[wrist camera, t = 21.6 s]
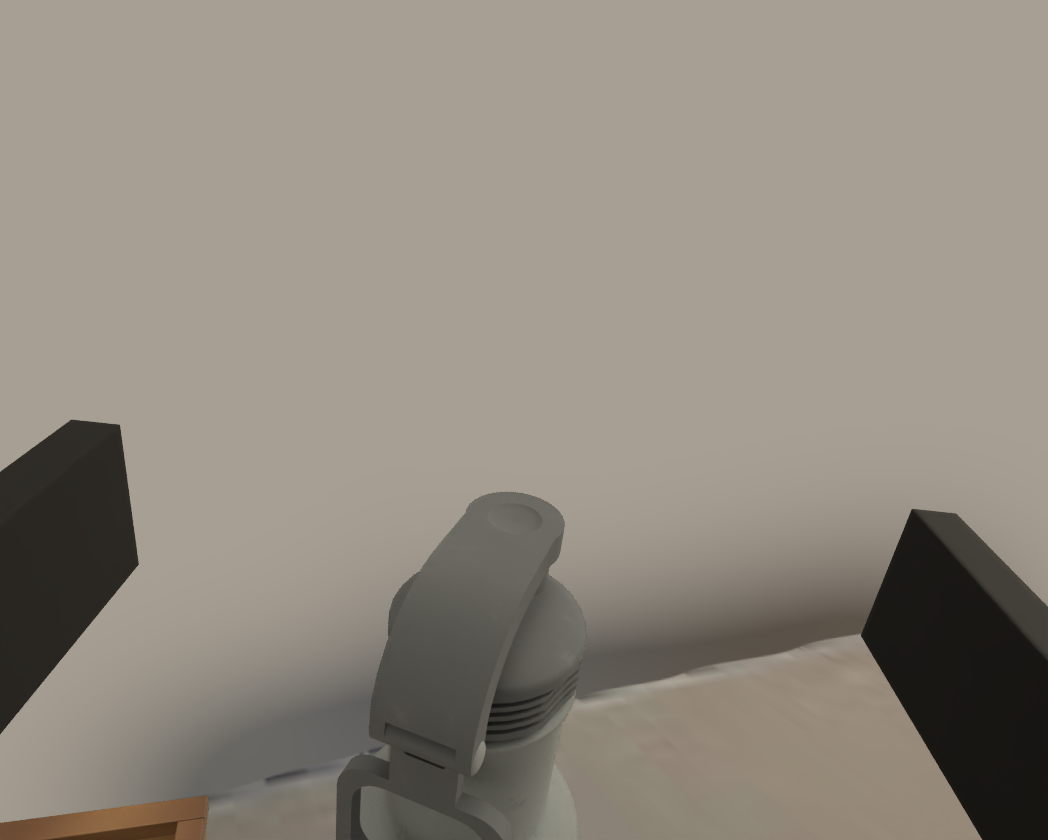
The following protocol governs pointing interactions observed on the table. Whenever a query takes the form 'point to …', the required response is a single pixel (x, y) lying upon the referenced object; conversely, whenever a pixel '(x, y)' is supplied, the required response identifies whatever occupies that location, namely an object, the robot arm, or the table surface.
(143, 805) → the wooden box
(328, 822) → the table surface
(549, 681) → the water bottle
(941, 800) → the table surface
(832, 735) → the table surface
